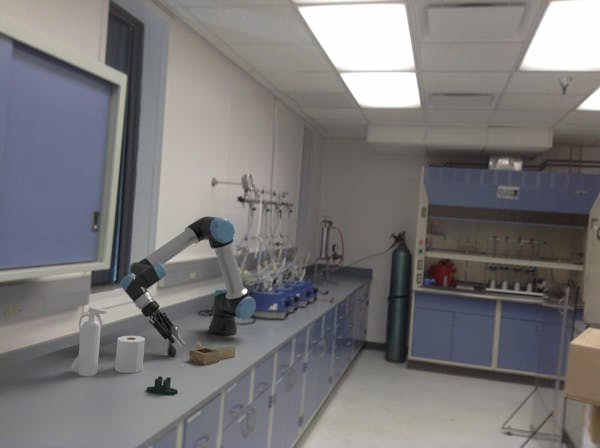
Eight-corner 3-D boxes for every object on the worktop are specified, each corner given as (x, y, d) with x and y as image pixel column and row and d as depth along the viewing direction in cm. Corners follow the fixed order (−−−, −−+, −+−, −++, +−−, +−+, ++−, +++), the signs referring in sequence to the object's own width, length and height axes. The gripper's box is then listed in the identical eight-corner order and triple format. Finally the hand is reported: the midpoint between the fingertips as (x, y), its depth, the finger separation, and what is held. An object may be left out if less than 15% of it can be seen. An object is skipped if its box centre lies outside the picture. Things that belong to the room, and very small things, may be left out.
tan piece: (208, 348, 245) (209, 339, 245) (236, 357, 234) (237, 347, 234) (175, 355, 229) (175, 345, 229) (203, 365, 219) (204, 354, 218)
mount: (179, 392, 186) (180, 378, 185) (175, 396, 181) (176, 382, 181) (149, 388, 186) (150, 374, 186) (144, 392, 182) (145, 378, 182)
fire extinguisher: (77, 367, 202) (83, 303, 200) (105, 373, 199) (111, 308, 198) (65, 372, 195) (71, 306, 194) (94, 379, 192) (100, 311, 191)
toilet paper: (134, 374, 199) (136, 343, 199) (109, 371, 202) (112, 339, 201) (147, 367, 209) (149, 337, 209) (123, 364, 211) (126, 334, 211)
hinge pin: (172, 352, 231) (174, 325, 231) (177, 354, 229) (180, 327, 228) (165, 354, 228) (168, 326, 228) (171, 356, 226) (173, 328, 226)
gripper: (149, 307, 238) (181, 347, 236) (132, 313, 222) (167, 357, 220) (161, 296, 237) (193, 337, 236) (145, 302, 221) (180, 346, 219)
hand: (181, 346), depth 228 cm, fingers closed on hinge pin, 3 cm apart
